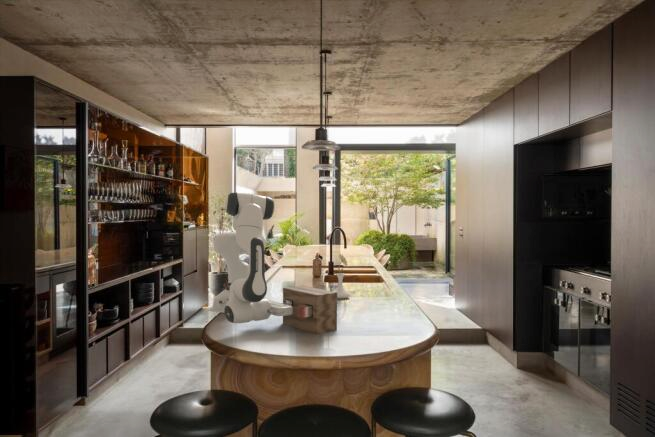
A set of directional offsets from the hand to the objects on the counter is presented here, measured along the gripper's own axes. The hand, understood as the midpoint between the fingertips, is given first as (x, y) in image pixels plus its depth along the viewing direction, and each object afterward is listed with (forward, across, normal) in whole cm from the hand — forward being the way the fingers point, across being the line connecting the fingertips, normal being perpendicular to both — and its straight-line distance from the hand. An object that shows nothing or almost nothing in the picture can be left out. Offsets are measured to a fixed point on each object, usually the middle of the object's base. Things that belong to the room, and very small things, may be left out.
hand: (288, 305), depth 221 cm
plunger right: (0, -14, +2) cm, 14 cm away
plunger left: (+4, 0, +2) cm, 4 cm away
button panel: (+5, -7, +9) cm, 13 cm away
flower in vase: (+63, +37, +9) cm, 73 cm away
